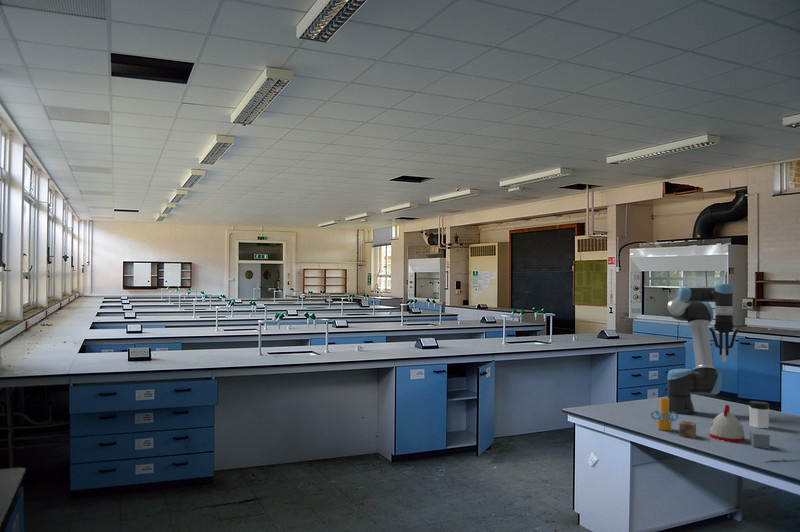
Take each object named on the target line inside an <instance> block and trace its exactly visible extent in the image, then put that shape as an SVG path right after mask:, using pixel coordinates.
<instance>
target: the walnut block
mask: <svg viewBox="0 0 800 532" xmlns="http://www.w3.org/2000/svg"><path fill="white" fill-rule="evenodd" d="M678 430H679V431H678V433H679V437H681V436H683V437H682V438H687V437H688V439H695V438H696V436H697V422H691V421H685V420H684V421H683V420H681V421H680V422H679V427H678Z"/></svg>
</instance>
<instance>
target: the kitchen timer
mask: <svg viewBox="0 0 800 532" xmlns="http://www.w3.org/2000/svg"><path fill="white" fill-rule="evenodd" d="M730 408H731V407H730V405H729V404H725V405H724V408H723V409H724V411H723V412H721V413H719V414H717V415H716V417H714V419H712V421H711V422H710V426H709V428H710V429H709V437H710V438H711V437H712V439H714V438H715V439H714V440H717V439H718V440H717V441H721V440H724V441H723V442H726V441H732V442H731V443H742V442H741V441H743V442H745V430H744V425H743V424H742V423H741V422H740V421H739V420H738V418H737V417H736V416H735V415H734V414H733V413H730V410H731V409H730Z"/></svg>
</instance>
